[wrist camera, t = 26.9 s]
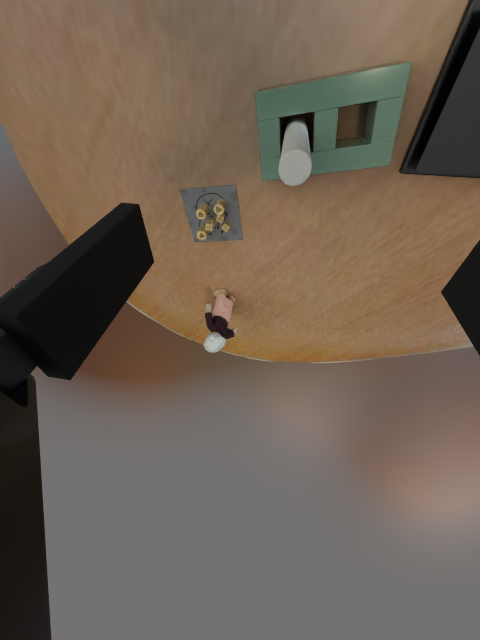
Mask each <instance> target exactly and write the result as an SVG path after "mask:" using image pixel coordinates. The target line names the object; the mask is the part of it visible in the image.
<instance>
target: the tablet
mask: <svg viewBox="0 0 480 640" xmlns="http://www.w3.org/2000/svg"><path fill="white" fill-rule="evenodd" d="M479 28H480V0H470V1H469V3H468V6H467V8H466V10H465V13H464V15H463V18H462V20H461V23H460V25H459V27H458V30H457V32H456V35H455V37H454V40H453V42H452V44H451V47H450V49H449V52H448V54H447V56H446V59H445V61H444V64H443V66H442V69H441V71H440V73H439V76H438V78H437V81H436V83H435V86H434V88H433V90H432V93H431V95H430V98H429V100H428V103H427V105H426V107H425V110H424V112H423V115H422V117H421V119H420V122H419V124H418V127H417V129H416V132H415V134H414V136H413V139H412V141H411V144H410V146H409V149H408V151H407V153H406V156H405V158H404V161H403V163H402V166H401V168H400V170H399V172H400V173H403V174H419V175H435V176H451V177H467V178H480V176H467V175H451V174H435V173H419V172H415V170H416V167H417V165H418V163H419V161H420V159H421V156H422V154H423V152H424V150H425V148H426V145H427V143H428V141H429V139H430V137H431V134H432V132H433V130H434V128H435V125H436V123H437V121H438V119H439V117H440V114H441V112H442V110H443V108H444V106H445V103H446V101H447V99H448V97H449V95H450V92H451V90H452V88H453V86H454V83H455V81H456V79H457V77H458V75H459V72H460V70H461V68H462V66H463V64H464V61H465V59H466V57H467V55H468V52H469V50H470V48H471V46H472V44H473V41H474V39H475V37H476V35H477V33H478V30H479Z"/></svg>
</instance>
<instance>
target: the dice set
mask: <svg viewBox="0 0 480 640" xmlns="http://www.w3.org/2000/svg"><path fill="white" fill-rule="evenodd" d="M226 208H227V203H226V201H225V200H223V199H222V198H221V199H218V200H217V201H216V203H215V204H214V206H213V209H212V210H213V212H214V213H215V214H216V215H217V216H216V218H215V219H214V218H213V217H212V218H210V219H207V220H206V222H205V225H202V226H200V227H199V229H198V230H197V232H196V237H197V239H198V240H200V241H201V242H205V240H206V239H207V237H208V235H209V233H210V232H213V231H214V229H215V227H216V225H217V224H216V222H218V223H220V224H222V226H221V228H220V229H221V230H222V231H224V232H225V233H227V232H228V231H229V229H230V228H231V226H232V225H231V224H230V223H229V222H227V221H226V220H225V221H224V219H225V217H226V215H225V214H224V212H225V210H226ZM209 212H210V208H209V207H208V205H207V204H204V203H202V204H201V205H200V206H199V207H198V208H197V210H196V211H195V216H196V217H197V219H198V220H201V221H203V220H204V219H206V218H207V216H208V214H209Z"/></svg>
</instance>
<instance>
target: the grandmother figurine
mask: <svg viewBox="0 0 480 640" xmlns="http://www.w3.org/2000/svg"><path fill="white" fill-rule="evenodd" d="M227 294H228V292H227V291H226V290H225V289H219V290H215V291H214V296H215V297H216V303H215V307H214V310H213V316H212V312H211V304H209V303H207V304H206V305H205V307H206V309H205V317H206V323H207V327H208V329H209V330H210V331H211V333H209V334H208V336H207V338H206V340H205V343H204V348H205V349H206V350H207V351H208V352H211V353H214V352H218V351H219V350H220V349H222V348H223V346H224V345H225V342H226V340H225V339H228V338H232V337H234V336H235V333H236V332H237V328H233V329H232V330H231V329H228V328H227V326H228V323H229V320H230V317H231V313H232V307H233V304H234V302H235V301H236V299H235V298H234V297H233V296H229V297H227V298H226V295H227Z"/></svg>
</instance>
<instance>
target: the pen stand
mask: <svg viewBox="0 0 480 640" xmlns="http://www.w3.org/2000/svg"><path fill="white" fill-rule="evenodd" d="M411 64H412V62H404V61H398V62H393V63H388V64H383V65H378V66H373V67H368V68H363V69H358V70H353V71H348V72H344V73H339V74H334V75H329V76H324V77H319V78H314V79H309V80H304V81H299V82H294V83H289V84H284V85H279V86H274V87H269V88H264V89H260V90H258V91H257V92H256V93H255V100H256V112H257V121H258V122H257V123H258V134H259V145H260V157H261V168H262V179H263V181H266V180H275V179H281V178H280V175H279V163H280V157H281V152H282V125H281V117H286V116H292V115H297V114H303V113H309V112H313V123H312V144H309V145H310V153H311V161H312V170H311V173H310V175H316V174H324V173H332V172H341V171H349V170H357V169H365V168H373V167H382V166H389V165H390V160H391V156H392V151H393V146H394V142H395V137H396V133H397V128H398V124H399V119H400V114H401V110H402V105H403V101H404V95H405V91H406V87H407V82H408V78H409V73H410V68H411ZM366 102H369V105H368V111H367V118H366V125H365V132H364V136H361V137H354V138H347V139H341V140H336V133H337V121H338V109H339V108H338V107H343V106H349V105H355V104H361V103H366Z"/></svg>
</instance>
